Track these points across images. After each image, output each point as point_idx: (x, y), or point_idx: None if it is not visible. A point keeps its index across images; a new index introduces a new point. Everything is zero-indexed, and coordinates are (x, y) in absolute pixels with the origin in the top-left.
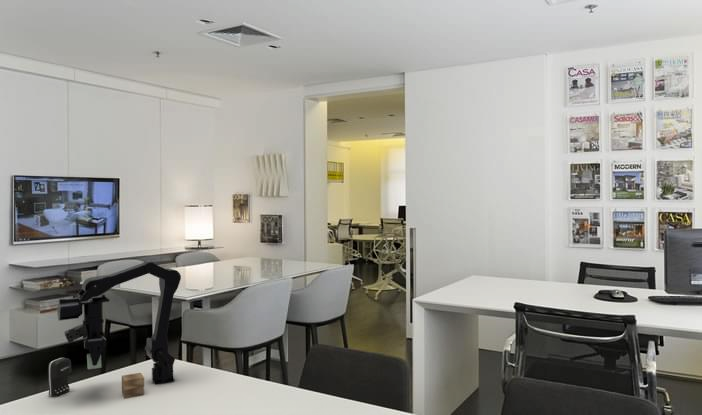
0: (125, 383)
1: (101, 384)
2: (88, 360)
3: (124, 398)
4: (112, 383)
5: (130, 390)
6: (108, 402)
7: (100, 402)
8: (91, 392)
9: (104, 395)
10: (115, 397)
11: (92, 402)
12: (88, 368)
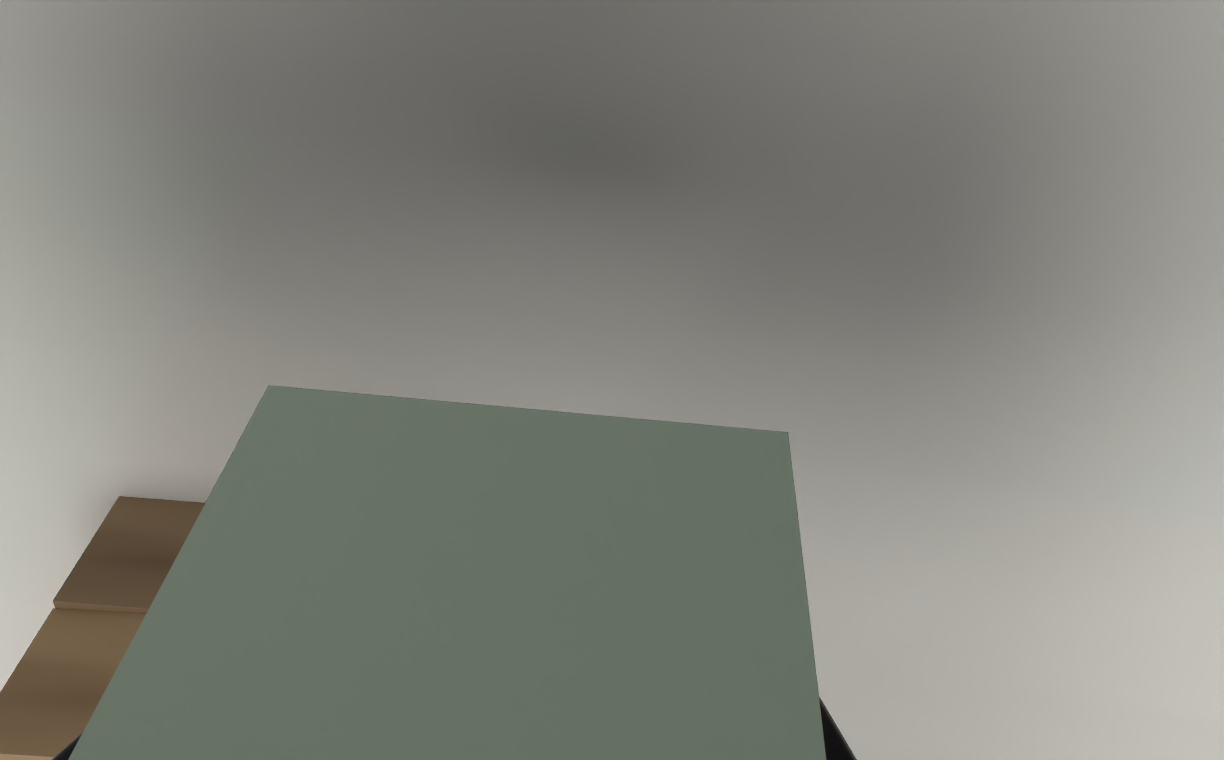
0: (3, 712)
1: (1187, 354)
2: (108, 714)
3: (117, 502)
4: (1072, 503)
5: None
6: (11, 288)
7: (58, 177)
8: (798, 121)
9: (445, 294)
10: (238, 414)
11: (113, 49)
12: (254, 428)
